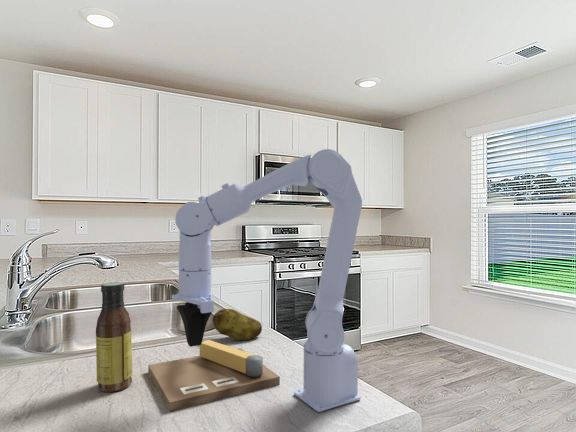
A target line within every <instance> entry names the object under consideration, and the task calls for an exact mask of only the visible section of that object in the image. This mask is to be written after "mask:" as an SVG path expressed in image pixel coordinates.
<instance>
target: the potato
mask: <svg viewBox="0 0 576 432" xmlns="http://www.w3.org/2000/svg"><path fill="white" fill-rule="evenodd" d="M212 324H213V327H214V328H215V330H216V331H217V333H219V334H220V335H222V336H225V337H226V336H227V337H228V338H230V339H231V340H235V341H236V340H237V341H246V340H252V339H255V338H256V337H259V335H261V333H262V330H263V329H262V328H263V327H262V323H261V322H260V321H259V320H257V319H255V318H253V317H250V316H247V315H246V314H244V313H241V312H239V311H238V310H235V309H232V308H222V309H219V310H218V311H217V312H216V313H214V315H213V317H212Z"/></svg>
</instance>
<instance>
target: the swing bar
mask: <svg viewBox="0 0 576 432" xmlns="http://www.w3.org/2000/svg"><path fill="white" fill-rule="evenodd" d="M238 349H239V348H235V347H231V346H230V345H226V344H223V343H220V342H217V341H214V340H211V339H206V340H204V341H203V340H202V343H201V345H199V356H201V357H203V358H206V359H209V360H211V361H214V362H216V363H219V364H222V365H224V366H227V367H229V368H232V369H235V370H237V371H240V372H243V373H245V374H247V375H248V376H251V377H257V376H260V375H262V374H263V365H264V364H263V363H264V362H263V359H264V357H263V356H262V355H259V354H257V355H256V354H253V353H251V352H250V353H249V352H248V351H247V352H246V351H245V350H244V351H245V352H244V351H241V350H238Z"/></svg>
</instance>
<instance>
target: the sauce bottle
mask: <svg viewBox="0 0 576 432" xmlns="http://www.w3.org/2000/svg"><path fill="white" fill-rule="evenodd" d="M124 290H125V283H124V282H123V281H108V282H104V283H102V284H101V287H100V292H101V294H102V295H101V296H102V297H101V299H102V303H101V309H100V313H99V316H98V317H97V321H96V326H95V348H96V349H95V350H96V353H95V354H96V359H95V360H96V361H95V362H96V383H97V387H98V389H99V390H100V391H102V392H106V393H112V392H116V391H123V390H125V389H126V388H128V387H129V386H130V385H131V384H132V383H133V378H132V376H133V350H132V349H133V347H132V346H133V344H132V342H133V341H132V328H131V316H130V313H129V311H127V308H126V307H125V302H124Z"/></svg>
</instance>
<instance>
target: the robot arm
mask: <svg viewBox="0 0 576 432" xmlns="http://www.w3.org/2000/svg"><path fill="white" fill-rule="evenodd" d="M311 156H312V157H311ZM308 183H309V185H311V186H312V187H313V188H314V189H315V190H317V191H318V192H319V193H321V194H322V195H324V197H325V199H327V201H328V202H329V203H330V205H331V206H332V208H333V212H332V213H333V214H332V219H331V223H330V228H329V233H328V239H327V244H326V249H325V253H324V259H323V262H322V263H323V264H322V267H321V273H320V277H319V278H320V279H319V283H318V289H317V292H316V295H315V296H314V301H313V304H312V307H311V309H310V310H309V311H308V313H306V316H305V322H304V324H305V328H306V331H307V332H306V333H307V334H306V335H307V336H306V338H307V340H306V342H304V344H303V388H300V389H298V390H297V389H296V390H294V392H293V394H294V396H296V397H298V398H299V399H300V400H301V401H303V402H304V403H306V405H308V406H309V407H311V408H312V409H313V410H314V411H315V412H318V413H319V412H320V413H321V412H323V411H327V410H330V409H334V408H336V407H337V408H338V407H340V406H342V405H346V404H347V405H348V404H350V403H353V402H356V401H360V400H361V398H362V397H361V396H360V395H359V393H358V390H359V389H358V385H359V384H358V381H359V380H358V379H359V378H358V376H359V375H358V374H359V372H358V370H359V368H358V367H359V364H358V358H357V355H356V352H355V351H354V348H352V347H351V346H350V345H349V344H345V343H344V341H345V331H344V328H343V316H344V298H345V293H346V286H347V282H348V277H349V273H350V267H351V262H352V258H353V257H352V256H353V251H354V247H355V241H356V237H357V232H358V227H359V221H360V216H361V211H362V207H363V199H362V196H361V194H360V191H359V188H358V185H357V183H356V181H355V177H354V174H353V170H352V166H351V164H350V163H349V161H347V160H346V159H345V158H344V157H343V155H342V154H341V153H340V152H338V151H336V150H334V149H329V148H327V149H326V148H325V149H321V150H318V151H317V152H315V153H314V155H312V154H308V155H304V156H302V157H300V158H298V159H296V160H294V161H290V162H289V163H286V164H284V165H283V166H281V167H279V168H277V169H275V170H274V171H272V172H269V173H267V174H266V175H264V176H261V177H260V178H258V179H256V180H255V181H252V182H250V183H249V184H247V185H241V184H238V183H235V182H234V183H232V184H230V183H228V182H227V183H224V184H222V185H221V188H222V189H220V190H217V191H216V192H214V193H211V194H210V195H207V196H204V195H201V196H199V197H198V198H197V199H198V202H197V201H188V202H186V203H185V204H183V205H181V207H179V209H178V210H177V212H176V214H175V226H176V227H177V229H178V230H179V245H178V293H177V294H171V300H172V301H181V302H185V304H180V305H177V306H176V310H177V311H178V314H179V315H180V317H181V320H182V323H183V329H184V332H185V337H186V338H185V339H186V343H187V345H188V347H191V348H192V347H197V346H200V345H201V343H202V342H203V339H204V335H205V330H206V326H207V323H208V321H209V319H210V317H211V315H212V313H214V309H215V308H214V305H215V302H214V300H213V293H212V241H211V239H212V233H211V232H212V230H213V228H214V227H215V226H217V227H219V226H221V225H223V224H225V223H227V222H230V221H232V220H234V219H235V218H238V217H240V216H242V215H244V214H247V213H248V212H250V209H251V206H252V203H253V202H255V201H257V200H260V199H262V198H264V197H266V196H268V195H271V194H274V193H275V192H278V191H280V190H283V189H285V188H287V187H290V186H299V187H307V185H308Z"/></svg>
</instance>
